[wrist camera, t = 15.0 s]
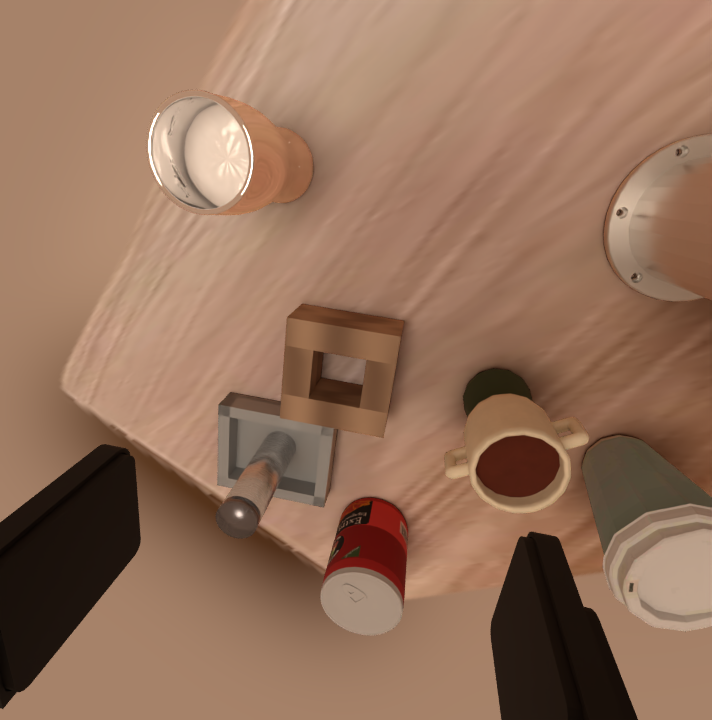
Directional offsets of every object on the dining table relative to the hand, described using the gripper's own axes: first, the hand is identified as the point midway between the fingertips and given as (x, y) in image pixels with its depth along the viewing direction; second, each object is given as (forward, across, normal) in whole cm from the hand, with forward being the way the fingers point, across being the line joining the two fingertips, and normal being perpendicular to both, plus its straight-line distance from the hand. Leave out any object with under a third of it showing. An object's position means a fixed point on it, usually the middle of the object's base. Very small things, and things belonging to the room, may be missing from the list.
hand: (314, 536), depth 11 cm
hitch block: (+33, +4, +9) cm, 35 cm away
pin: (+32, +10, +20) cm, 39 cm away
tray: (+33, +10, +20) cm, 40 cm away
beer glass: (+33, +12, -8) cm, 36 cm away
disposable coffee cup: (+34, -24, +15) cm, 44 cm away
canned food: (+33, -1, +28) cm, 44 cm away
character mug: (+34, -11, +10) cm, 37 cm away
